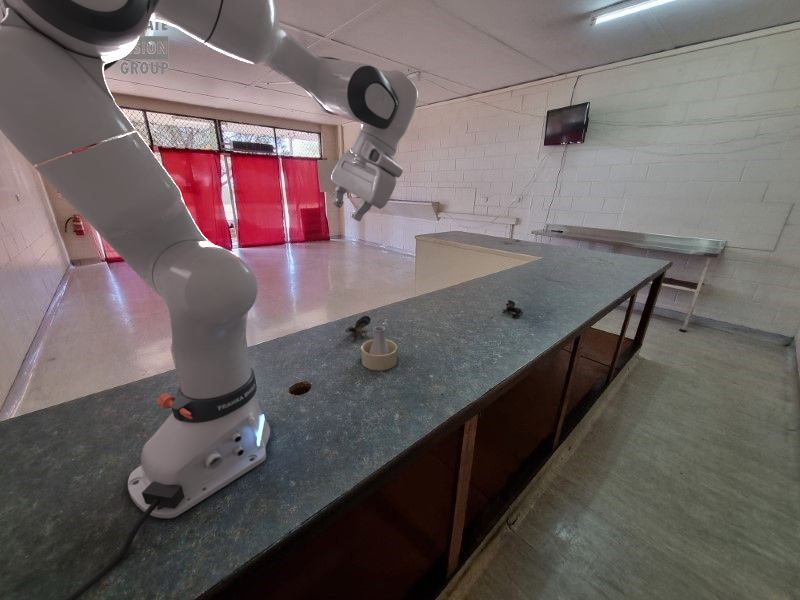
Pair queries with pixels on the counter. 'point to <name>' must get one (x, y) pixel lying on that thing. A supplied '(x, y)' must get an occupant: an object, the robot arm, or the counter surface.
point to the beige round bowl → (379, 356)
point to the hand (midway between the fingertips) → (345, 212)
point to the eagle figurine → (359, 327)
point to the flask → (379, 342)
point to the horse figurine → (512, 309)
